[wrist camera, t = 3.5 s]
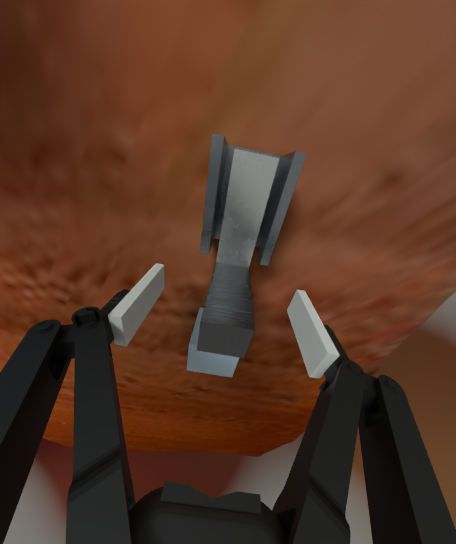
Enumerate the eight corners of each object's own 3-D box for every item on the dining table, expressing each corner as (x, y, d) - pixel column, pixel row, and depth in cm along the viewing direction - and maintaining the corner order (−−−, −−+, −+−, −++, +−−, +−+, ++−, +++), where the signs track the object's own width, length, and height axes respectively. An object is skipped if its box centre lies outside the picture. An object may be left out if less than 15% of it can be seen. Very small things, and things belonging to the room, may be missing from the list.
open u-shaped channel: (220, 144, 16) (212, 133, 12) (287, 158, 16) (306, 153, 12) (208, 234, 21) (199, 253, 16) (261, 245, 21) (267, 265, 16)
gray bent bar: (235, 152, 15) (227, 121, 6) (272, 160, 16) (326, 142, 6) (212, 294, 24) (192, 379, 14) (235, 298, 24) (233, 386, 14)
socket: (199, 307, 27) (189, 343, 21) (240, 314, 27) (241, 352, 21) (196, 332, 30) (186, 370, 24) (233, 338, 30) (232, 377, 24)
